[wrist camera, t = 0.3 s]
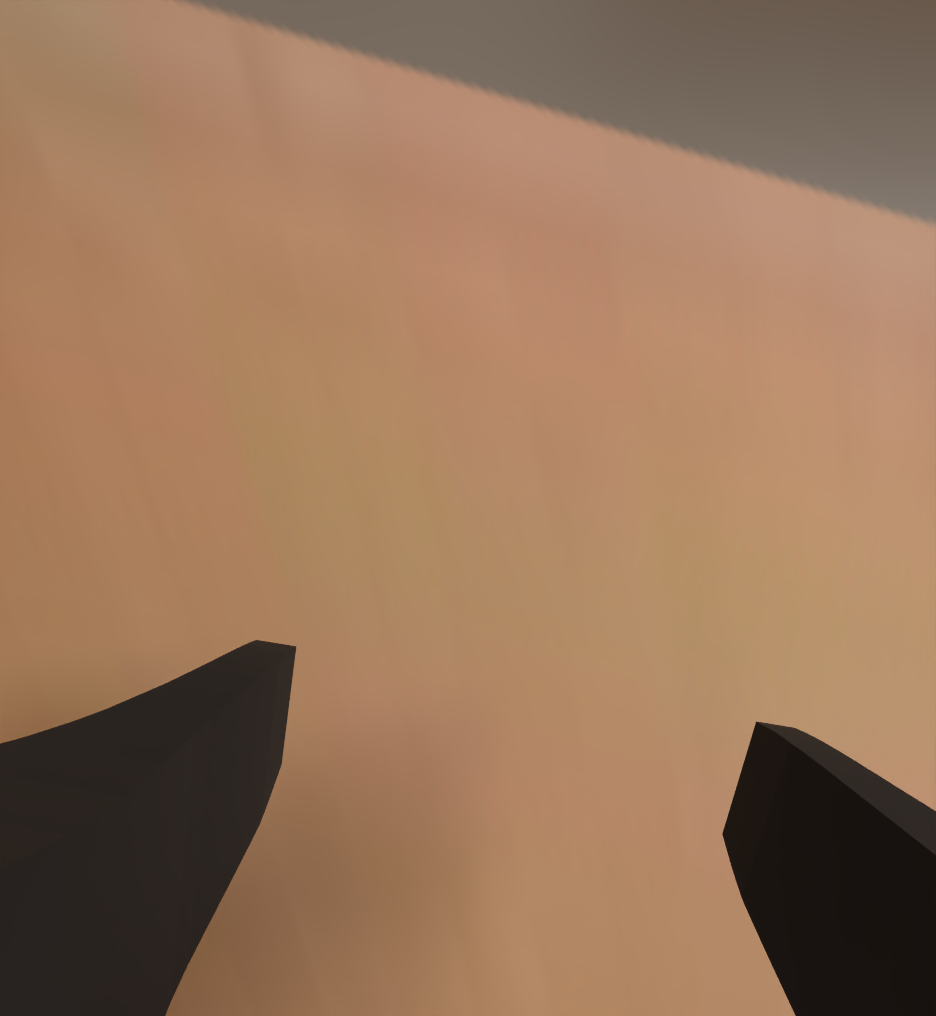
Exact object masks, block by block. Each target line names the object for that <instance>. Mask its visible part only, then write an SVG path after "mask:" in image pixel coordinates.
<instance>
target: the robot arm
mask: <svg viewBox="0 0 936 1016" xmlns="http://www.w3.org/2000/svg"><path fill="white" fill-rule="evenodd" d="M295 652H296V646H290V645H284V644H278V643H272V642H265V641H259V640H255V641H253V642H250V643H248V644H245V645H243V646H241V647H239V648H237V649H235V650H233V651H231V652H229V653H227V654H225V655H223V656H221V657H219V658H217V659H215V660H213V661H211V662H209V663H207V664H205V665H203V666H201V667H199V668H197V669H195V670H193V671H191V672H189V673H187V674H184V675H182V676H180V677H178V678H176V679H174V680H172V681H170V682H168V683H166V684H164V685H161V686H159V687H157V688H154V689H152V690H150V691H147V692H145V693H143V694H140V695H138V696H136V697H133V698H131V699H129V700H126V701H124V702H122V703H119V704H117V705H115V706H112V707H110V708H108V709H105V710H103V711H100V712H97V713H95V714H92V715H89V716H87V717H84V718H81V719H78V720H76V721H73V722H70V723H67V724H64V725H61V726H58V727H55V728H51V729H48V730H45V731H42V732H39V733H36V734H33V735H30V736H26V737H23V738H20V739H16V740H13V741H9V742H5V743H1V744H0V1016H165V1014H166V1012H167V1009H168V1007H169V1005H170V1002H171V1000H172V998H173V996H174V993H175V991H176V989H177V987H178V985H179V983H180V980H181V978H182V976H183V974H184V972H185V970H186V968H187V965H188V963H189V961H190V960H191V958H192V956H193V954H194V952H195V950H196V948H197V946H198V944H199V942H200V940H201V938H202V936H203V934H204V932H205V930H206V928H207V927H208V925H209V923H210V921H211V919H212V917H213V915H214V913H215V911H216V909H217V907H218V905H219V903H220V901H221V899H222V897H223V895H224V894H225V892H226V890H227V888H228V886H229V884H230V882H231V880H232V878H233V876H234V874H235V872H236V870H237V868H238V866H239V864H240V862H241V860H242V858H243V856H244V854H245V852H246V851H247V849H248V847H249V845H250V843H251V841H252V839H253V837H254V835H255V833H256V831H257V829H258V827H259V825H260V822H261V820H262V817H263V814H264V812H265V809H266V806H267V804H268V801H269V798H270V795H271V793H272V790H273V787H274V784H275V781H276V779H277V776H278V773H279V770H280V767H281V764H282V756H283V748H284V740H285V732H286V724H287V716H288V708H289V700H290V692H291V684H292V676H293V668H294V660H295ZM723 838H724V841H725V845H726V848H727V852H728V855H729V859H730V862H731V866H732V869H733V872H734V876H735V879H736V882H737V885H738V888H739V891H740V894H741V897H742V899H743V902H744V904H745V906H746V909H747V911H748V913H749V916H750V918H751V920H752V922H753V924H754V927H755V929H756V931H757V933H758V935H759V938H760V940H761V942H762V944H763V946H764V949H765V951H766V953H767V955H768V957H769V960H770V962H771V964H772V966H773V968H774V970H775V972H776V975H777V977H778V979H779V981H780V983H781V985H782V987H783V990H784V992H785V994H786V996H787V998H788V1000H789V1003H790V1005H791V1007H792V1009H793V1011H794V1013H795V1015H796V1016H936V811H934V810H933V809H931V808H930V807H928V806H926V805H925V804H923V803H922V802H920V801H918V800H917V799H915V798H913V797H912V796H910V795H909V794H907V793H905V792H904V791H902V790H901V789H899V788H897V787H896V786H894V785H893V784H891V783H890V782H888V781H886V780H885V779H883V778H882V777H880V776H878V775H877V774H875V773H874V772H872V771H870V770H869V769H867V768H866V767H864V766H862V765H861V764H859V763H857V762H856V761H854V760H853V759H851V758H849V757H848V756H846V755H844V754H843V753H841V752H839V751H838V750H836V749H834V748H833V747H831V746H829V745H828V744H826V743H824V742H822V741H820V740H819V739H817V738H815V737H813V736H811V735H809V734H807V733H805V732H803V731H800V730H798V729H796V728H792V727H786V726H780V725H774V724H768V723H762V722H756V724H755V728H754V731H753V734H752V738H751V741H750V744H749V747H748V751H747V754H746V757H745V761H744V764H743V767H742V771H741V774H740V777H739V781H738V784H737V787H736V791H735V794H734V797H733V801H732V804H731V807H730V811H729V814H728V817H727V821H726V824H725V827H724V831H723Z"/></svg>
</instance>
